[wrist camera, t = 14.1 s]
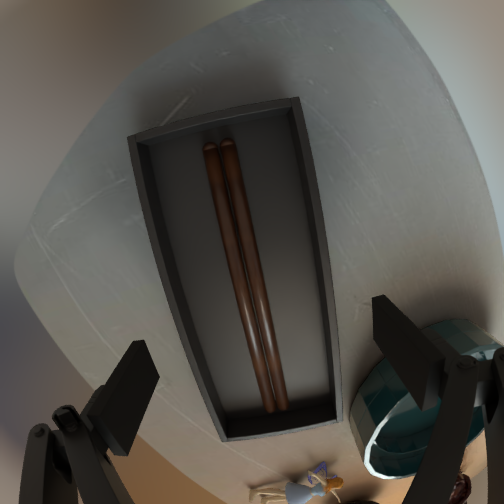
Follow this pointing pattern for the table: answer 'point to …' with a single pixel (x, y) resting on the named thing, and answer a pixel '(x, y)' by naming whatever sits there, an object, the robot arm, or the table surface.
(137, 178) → the tray
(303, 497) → the fairy figurine
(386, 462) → the bowl
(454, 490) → the figurine
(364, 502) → the speaker
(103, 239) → the table surface
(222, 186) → the chopsticks
